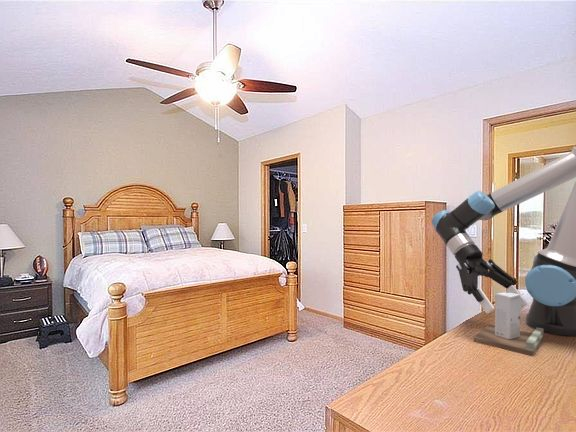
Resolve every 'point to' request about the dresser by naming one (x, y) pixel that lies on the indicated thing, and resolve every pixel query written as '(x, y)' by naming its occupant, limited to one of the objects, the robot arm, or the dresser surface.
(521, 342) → the walnut board
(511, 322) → the skincare box
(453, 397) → the dresser surface
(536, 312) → the robot arm
